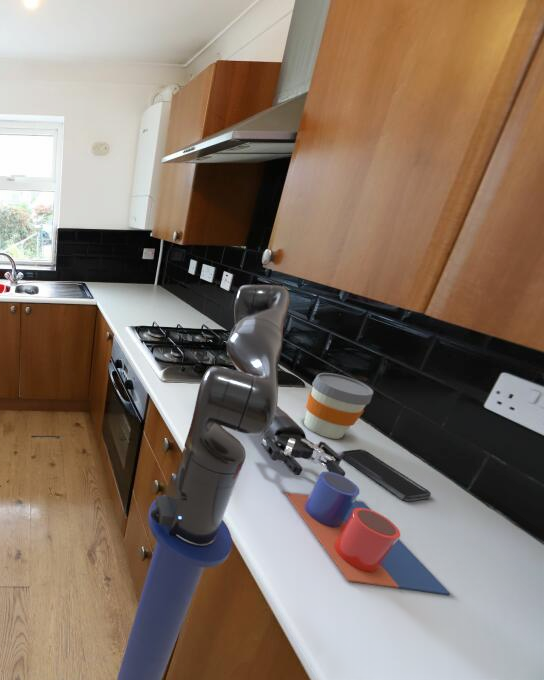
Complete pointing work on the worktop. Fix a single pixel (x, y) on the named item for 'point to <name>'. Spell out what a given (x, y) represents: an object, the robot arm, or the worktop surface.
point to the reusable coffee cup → (335, 404)
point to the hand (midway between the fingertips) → (320, 474)
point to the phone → (386, 475)
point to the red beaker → (366, 539)
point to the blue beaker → (331, 499)
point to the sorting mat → (393, 571)
